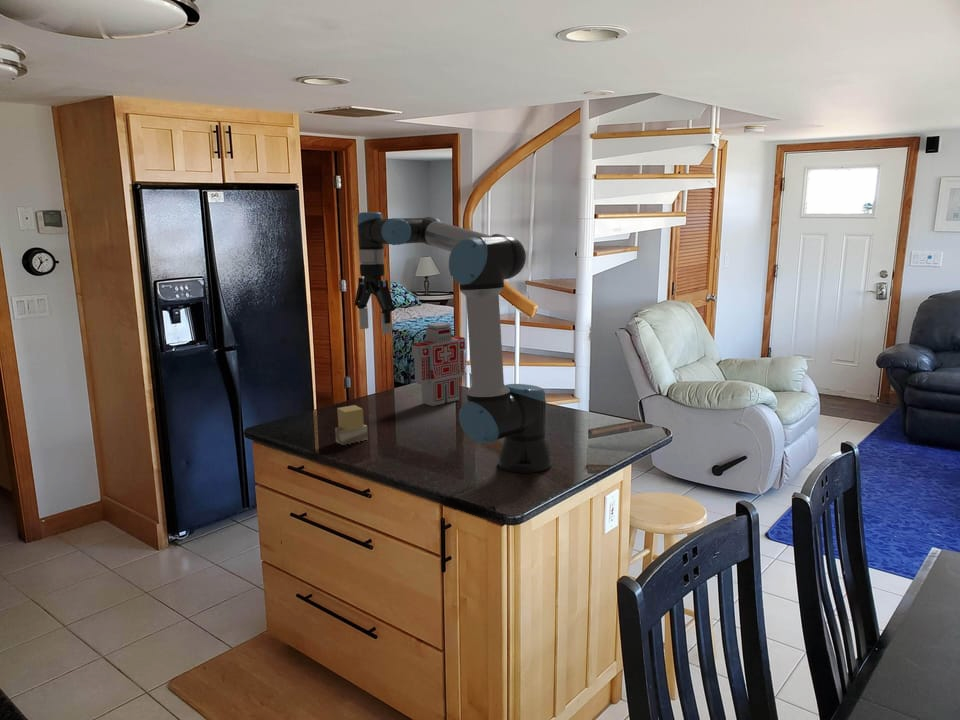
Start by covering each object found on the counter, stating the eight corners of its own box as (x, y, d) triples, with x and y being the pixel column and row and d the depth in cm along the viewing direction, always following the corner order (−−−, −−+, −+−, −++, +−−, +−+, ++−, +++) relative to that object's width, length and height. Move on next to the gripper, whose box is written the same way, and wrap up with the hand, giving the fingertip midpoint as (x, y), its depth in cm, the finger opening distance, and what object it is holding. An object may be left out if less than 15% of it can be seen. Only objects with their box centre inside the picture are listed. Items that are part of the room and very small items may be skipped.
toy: (423, 409, 265) (420, 329, 259) (411, 405, 271) (408, 326, 265) (469, 398, 280) (468, 322, 274) (457, 395, 285) (455, 320, 279)
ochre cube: (363, 427, 228) (362, 408, 227) (346, 430, 225) (345, 412, 224) (355, 422, 233) (354, 405, 232) (338, 426, 230) (337, 408, 228)
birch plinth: (367, 440, 231) (367, 425, 230) (342, 446, 226) (341, 431, 225) (361, 437, 234) (360, 422, 233) (336, 443, 229) (335, 427, 228)
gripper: (404, 264, 215) (406, 334, 220) (362, 260, 234) (365, 325, 239) (382, 265, 211) (385, 337, 215) (341, 262, 230) (345, 327, 234)
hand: (375, 331), depth 227 cm, fingers open, 13 cm apart
